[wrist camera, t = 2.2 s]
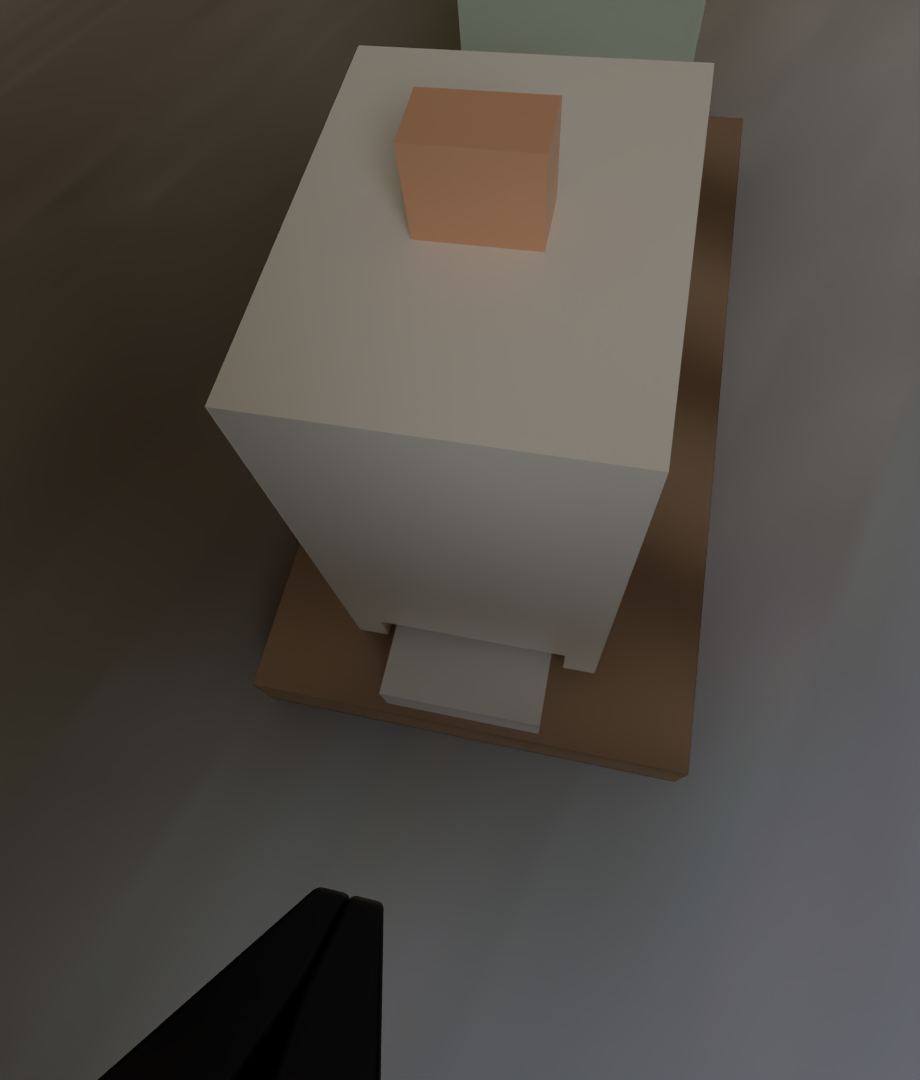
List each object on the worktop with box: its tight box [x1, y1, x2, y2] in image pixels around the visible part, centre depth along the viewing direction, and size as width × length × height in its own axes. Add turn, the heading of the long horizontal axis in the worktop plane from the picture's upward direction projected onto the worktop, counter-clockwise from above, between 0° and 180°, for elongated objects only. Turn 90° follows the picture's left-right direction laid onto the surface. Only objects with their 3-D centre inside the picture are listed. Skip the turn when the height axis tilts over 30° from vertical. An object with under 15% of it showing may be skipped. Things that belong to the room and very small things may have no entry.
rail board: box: [253, 117, 743, 782], centre depth 20 cm, size 21×10×2 cm, turn 168°
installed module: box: [457, 0, 706, 62], centre depth 19 cm, size 6×6×9 cm
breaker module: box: [205, 45, 714, 673], centre depth 13 cm, size 7×6×10 cm
